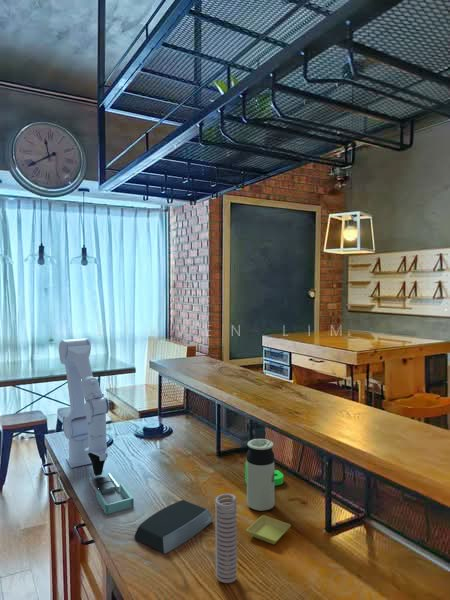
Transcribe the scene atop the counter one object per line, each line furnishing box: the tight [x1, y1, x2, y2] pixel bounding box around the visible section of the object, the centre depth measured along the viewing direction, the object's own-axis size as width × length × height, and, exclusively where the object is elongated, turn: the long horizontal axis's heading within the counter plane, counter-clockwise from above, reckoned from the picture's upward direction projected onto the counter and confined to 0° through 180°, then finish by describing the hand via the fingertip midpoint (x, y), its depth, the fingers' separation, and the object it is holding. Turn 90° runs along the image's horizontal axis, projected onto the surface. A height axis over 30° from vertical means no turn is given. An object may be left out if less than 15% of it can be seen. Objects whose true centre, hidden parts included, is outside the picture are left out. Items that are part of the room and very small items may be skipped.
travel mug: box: [246, 438, 275, 512], centre depth 125 cm, size 8×8×18 cm
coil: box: [214, 493, 238, 584], centre depth 94 cm, size 5×5×18 cm
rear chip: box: [94, 475, 111, 488], centre depth 138 cm, size 4×4×2 cm
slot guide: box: [88, 472, 120, 493], centre depth 137 cm, size 11×7×2 cm, turn 30°
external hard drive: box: [134, 499, 214, 555], centre depth 113 cm, size 12×18×4 cm
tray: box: [95, 483, 135, 515], centre depth 127 cm, size 11×8×2 cm
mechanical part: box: [244, 460, 284, 487], centre depth 140 cm, size 12×6×8 cm, turn 112°
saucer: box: [246, 514, 292, 545], centre depth 111 cm, size 9×9×2 cm
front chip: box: [98, 482, 116, 496], centre depth 134 cm, size 4×4×2 cm
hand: (98, 474), depth 144 cm, fingers closed
